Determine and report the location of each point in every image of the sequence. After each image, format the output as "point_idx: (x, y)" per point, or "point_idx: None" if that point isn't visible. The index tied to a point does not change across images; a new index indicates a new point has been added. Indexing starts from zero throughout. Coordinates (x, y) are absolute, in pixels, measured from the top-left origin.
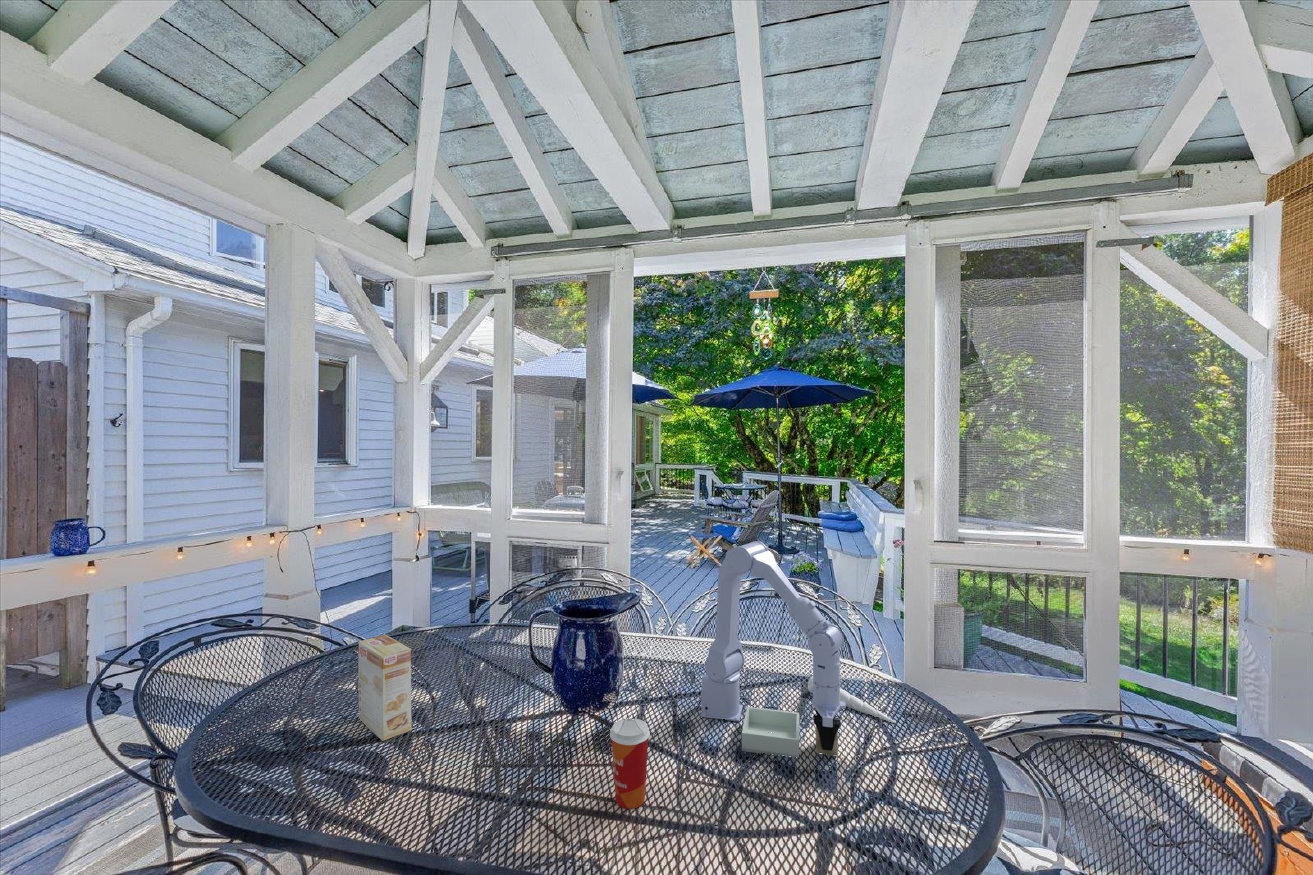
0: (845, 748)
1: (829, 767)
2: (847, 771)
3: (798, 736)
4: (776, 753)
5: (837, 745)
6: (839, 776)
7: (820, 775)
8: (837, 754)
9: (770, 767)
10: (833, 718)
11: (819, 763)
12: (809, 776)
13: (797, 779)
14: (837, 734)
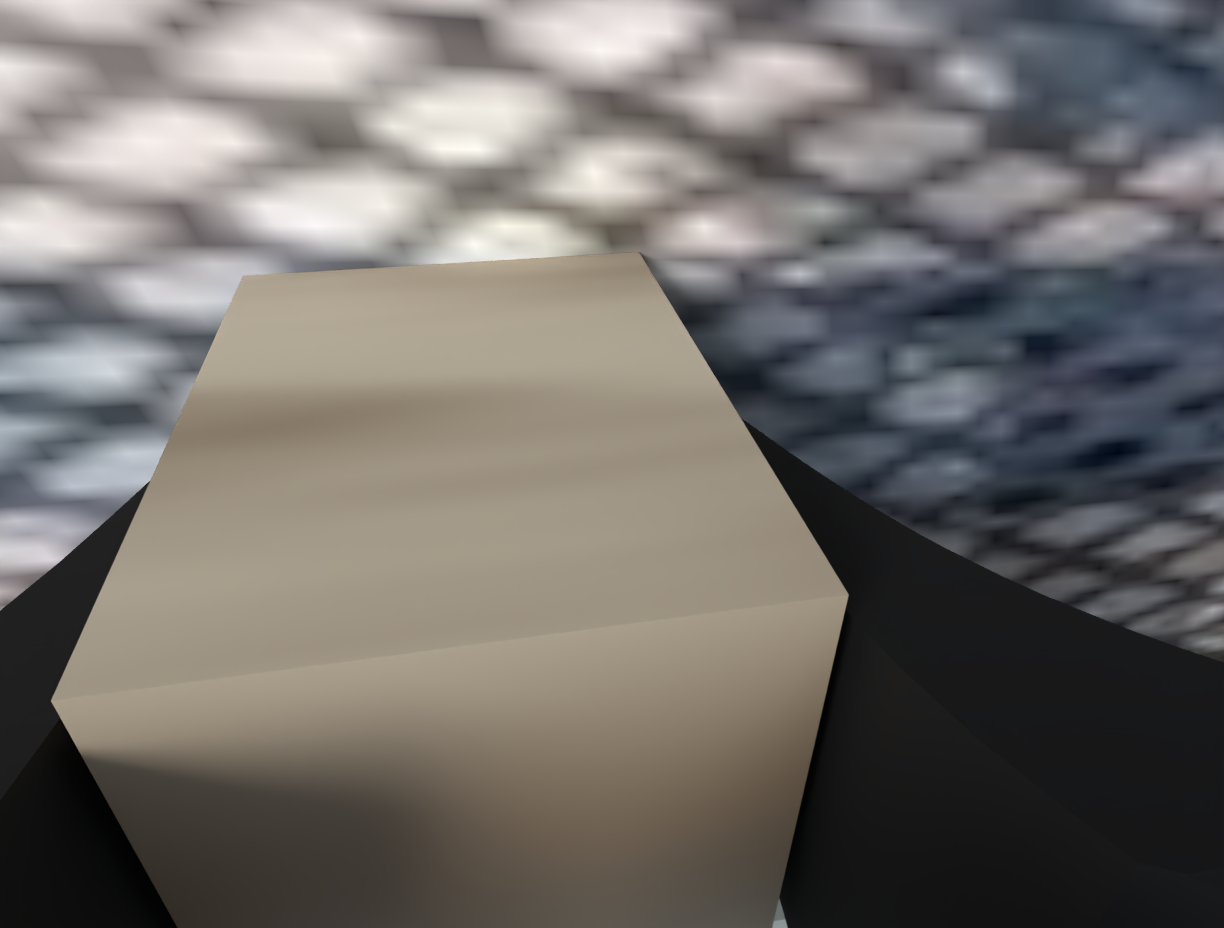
0: (270, 97)
1: (943, 364)
2: (1055, 93)
3: (780, 923)
4: None
5: (698, 349)
6: (1162, 225)
7: (1106, 453)
8: (643, 272)
9: None
10: (61, 773)
11: (855, 485)
12: (1109, 550)
13: (1141, 633)
14: (785, 493)
